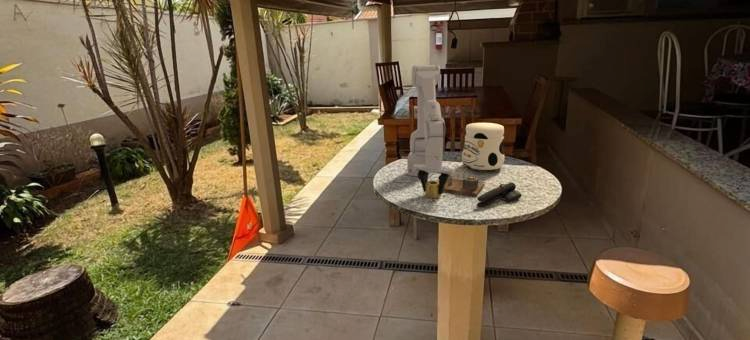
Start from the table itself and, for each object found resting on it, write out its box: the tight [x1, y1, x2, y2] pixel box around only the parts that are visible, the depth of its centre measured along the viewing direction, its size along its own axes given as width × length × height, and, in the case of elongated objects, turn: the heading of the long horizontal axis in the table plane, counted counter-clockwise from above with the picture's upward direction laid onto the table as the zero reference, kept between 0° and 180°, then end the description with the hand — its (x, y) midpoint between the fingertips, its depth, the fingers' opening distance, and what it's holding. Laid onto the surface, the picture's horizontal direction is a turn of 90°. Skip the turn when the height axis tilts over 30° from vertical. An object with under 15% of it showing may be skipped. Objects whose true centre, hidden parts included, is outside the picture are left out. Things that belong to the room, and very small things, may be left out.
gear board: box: [443, 175, 485, 198], centre depth 142 cm, size 16×11×5 cm
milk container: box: [461, 122, 505, 172], centre depth 162 cm, size 17×17×18 cm
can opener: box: [476, 182, 523, 208], centre depth 130 cm, size 18×7×6 cm, turn 118°
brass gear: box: [425, 179, 442, 199], centre depth 136 cm, size 5×5×5 cm
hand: (433, 192), depth 136 cm, fingers closed on brass gear, 5 cm apart
